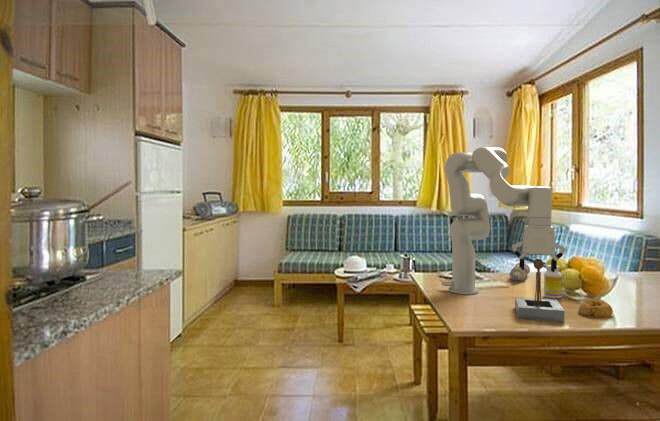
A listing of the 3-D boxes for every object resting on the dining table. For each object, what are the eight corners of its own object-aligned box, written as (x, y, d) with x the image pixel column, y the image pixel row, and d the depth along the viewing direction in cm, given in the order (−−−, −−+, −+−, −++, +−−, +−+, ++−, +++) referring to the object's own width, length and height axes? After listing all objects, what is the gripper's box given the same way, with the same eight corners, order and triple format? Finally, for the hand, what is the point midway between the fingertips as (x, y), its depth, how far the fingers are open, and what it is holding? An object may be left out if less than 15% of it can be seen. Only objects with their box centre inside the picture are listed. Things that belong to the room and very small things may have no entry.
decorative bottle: (514, 274, 231) (514, 261, 231) (530, 276, 227) (530, 263, 227) (505, 283, 209) (505, 269, 209) (522, 285, 205) (523, 271, 205)
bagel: (571, 311, 161) (571, 298, 161) (599, 310, 162) (599, 297, 162) (589, 319, 151) (590, 305, 151) (619, 318, 152) (620, 304, 152)
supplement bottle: (563, 299, 178) (564, 267, 177) (546, 298, 179) (546, 267, 179) (558, 295, 185) (559, 264, 184) (541, 294, 186) (542, 264, 185)
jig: (518, 319, 151) (518, 307, 151) (514, 307, 166) (515, 297, 165) (564, 322, 147) (564, 310, 147) (556, 310, 161) (556, 299, 161)
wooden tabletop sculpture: (537, 311, 160) (538, 256, 159) (549, 314, 156) (550, 258, 155) (527, 314, 157) (528, 258, 156) (540, 317, 153) (540, 259, 152)
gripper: (513, 222, 154) (511, 270, 155) (569, 223, 149) (567, 274, 150) (511, 220, 161) (510, 266, 162) (564, 221, 156) (562, 270, 157)
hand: (537, 270), depth 156 cm, fingers open, 9 cm apart
